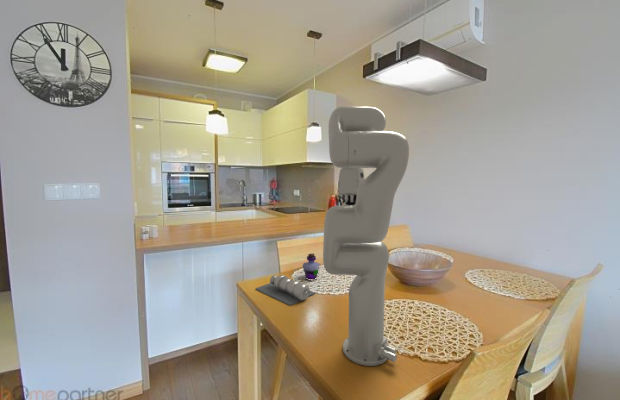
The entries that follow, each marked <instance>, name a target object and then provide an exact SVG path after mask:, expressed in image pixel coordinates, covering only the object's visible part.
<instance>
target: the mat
mask: <svg viewBox="0 0 620 400" xmlns="http://www.w3.org/2000/svg"><path fill="white" fill-rule="evenodd" d="M255 291H258V292H260V293H262V294H264V295H266V296H269V297H270V298H273V299H274V300H276V301H279V302H281V303H282V304H285V305H287V306H289V307H291V306H294V305H295V304H297V303H299V302H301V300H297V299H296V298H295V297H294V296H292V295H290V294H288V293H286V292H282V291H279V290H277V289H276V288H275V286H274V285H273V284H271V283H270V282H269V283H266V284H264V285H261V286H259V287H255ZM314 295H316V292H314V291H311V290H310V293H309V296H308V297H307V299H308V298H310V297H312V296H314Z"/></svg>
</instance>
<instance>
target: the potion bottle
mask: <svg viewBox="0 0 620 400" xmlns="http://www.w3.org/2000/svg"><path fill="white" fill-rule="evenodd" d="M316 259H317V257H316V256H315V253H307V256H306V261H307V262H304V263H303V264H302V269H303V272H304V275H305V279H306V278H308V279H315V278H316V277H318V274H319V270H320V267H321V263H319V262H316Z"/></svg>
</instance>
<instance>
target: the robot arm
mask: <svg viewBox="0 0 620 400" xmlns="http://www.w3.org/2000/svg"><path fill="white" fill-rule="evenodd" d="M328 121H329V122H328V148H329V149H328V151H329V152H328V153H329V159H330V161H331V163H332V165H333V166H335V167H336V168H340V169H339V174H338V182H337V183H338V185H337V188H338V189H337V190H338V191H337V192H338V196H339V197H341V198H343V199H344V201H345V203H346V205H343V204H342V205H340V204H339V205H334V206H331V207H330V208H329V209H327V211H326V213H325V216H324V221H323V222H324V223H323V243H322V244H323V245H322V246H323V248H322V249H323V250H322V261H323V262H322V263H323V267H324V269H325V272H326V273H328V274H330V275H335V276H355V277H354V278H353V280H352V281H351V283H350V286H349V289H348V337H346V338H345V340H343V342H342V352H343V353H344V355H345V357H346V358H348V359H349V360H350V361H352V362H353V363H355V364H358V365H360V366H361V365H362V366H366V367H368V366H369V367H374V366H380V365H381V364H382V365H383V363H385V362H386V361H387V360H389V361H391V362H392V363H396V361H397V358H398V355H397V348H395V347H392V346H390V345H389V344H388V337H386V336H384V333H385V331H384V330H385V326H384V325H385V289H386V288H385V286H386V278H387V271H388V266H389V259H390V253H389V249H388V247H387V245H386V244H385V242H383V241H384V240H385V238H386V237H387V234H388V232H389V228H390V221H391V216H392V211H393V206H394V199H395V195H396V193H397V190H398V188H399V186H400V184H401V182H402V180H403V178H404V176H405V173H406V170H407V169H408V167H407V166H408V164H409V163H408V162H409V157H410V147H409V146H410V145H409V142H408V139H407V138H406V137H405V136H404V135H403V134H401V133H399V132H395V131H391V130H390V131H388V130H385V128H386V123H387V119H386V116H385V114H384V112H383V111H381V110H380V109H379V108H377V107H373V106H339V107H337V108H335V109H334V110H333V111H332V112H331V115H330V116H329V120H328ZM364 169H375V170H373V171H372V172H371V173H369V174H368V176H366V178H365V173H364Z"/></svg>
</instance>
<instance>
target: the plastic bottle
mask: <svg viewBox="0 0 620 400" xmlns="http://www.w3.org/2000/svg"><path fill="white" fill-rule="evenodd" d="M269 283H271V284H273V285H274V286H275V288H276V289H277V290H279V291H282V292H286V293H288V294H290V295H292V296H294V297H295V298H296V299H297V300H301V301H305V300H307V299H308V298H309V297H308V296H309V293H310V291H311V289H310V287H309V284H307V283H304V282H301V281H300V282H299V281H295V280H293V279H291V278H290V277H288V276H286V275H285V274H280V275H272V276H271V277H270V280H269ZM307 297H308V298H307ZM301 301H300V302H301Z"/></svg>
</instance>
